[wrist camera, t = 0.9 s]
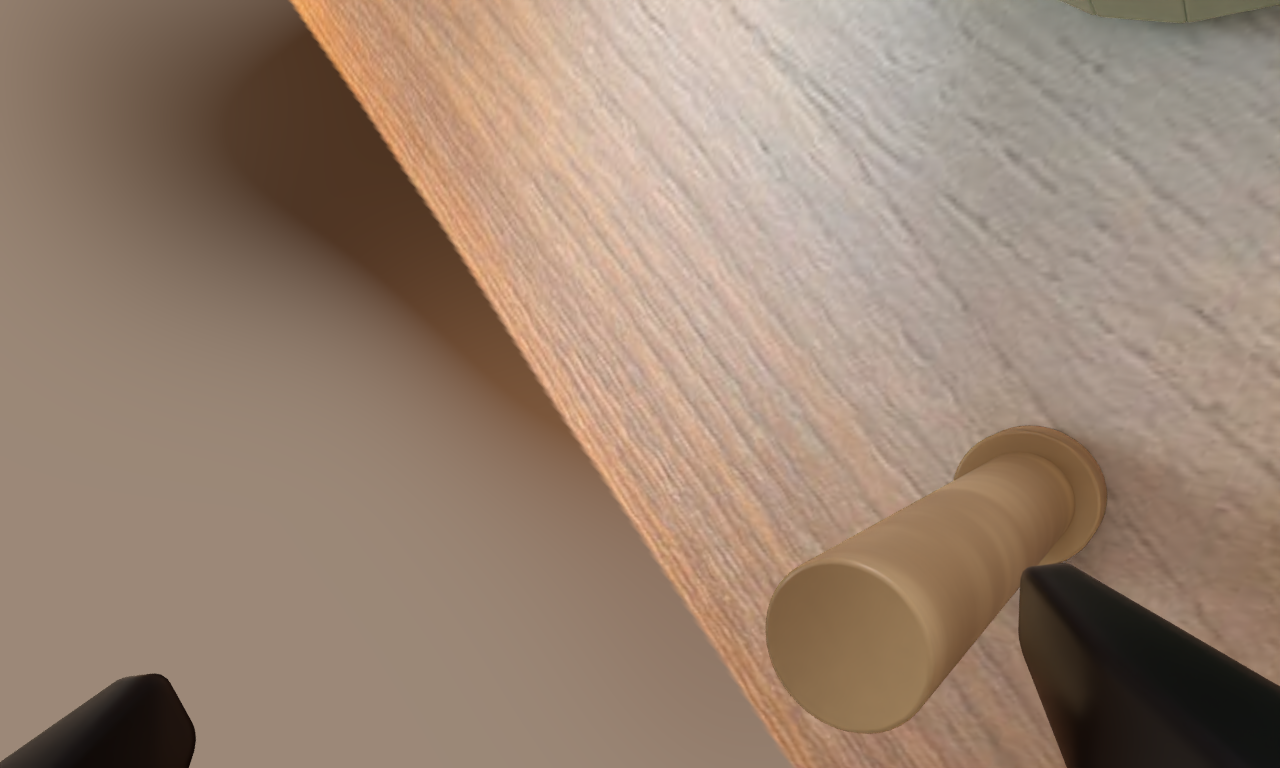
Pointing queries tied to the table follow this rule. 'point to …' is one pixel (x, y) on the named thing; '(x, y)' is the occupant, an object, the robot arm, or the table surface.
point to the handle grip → (929, 579)
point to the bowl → (1168, 8)
